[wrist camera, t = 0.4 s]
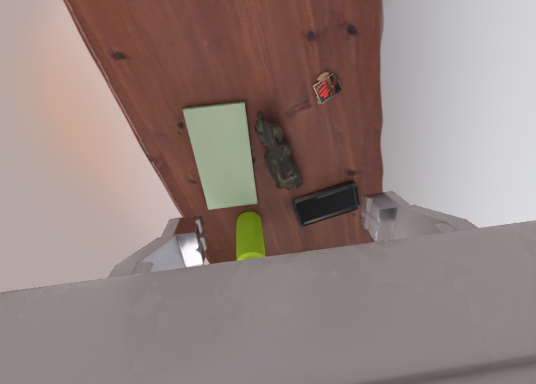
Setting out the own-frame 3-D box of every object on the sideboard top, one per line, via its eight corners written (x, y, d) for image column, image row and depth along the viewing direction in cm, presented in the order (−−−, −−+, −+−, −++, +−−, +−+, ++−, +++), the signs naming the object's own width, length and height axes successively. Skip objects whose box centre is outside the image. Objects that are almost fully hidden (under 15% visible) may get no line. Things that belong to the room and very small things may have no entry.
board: (183, 107, 46) (182, 109, 45) (244, 101, 46) (244, 102, 45) (208, 206, 58) (208, 209, 57) (257, 200, 58) (257, 203, 57)
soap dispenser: (228, 224, 61) (225, 298, 44) (248, 207, 59) (252, 277, 42) (246, 236, 64) (249, 310, 47) (266, 220, 62) (276, 291, 45)
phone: (360, 208, 61) (300, 227, 62) (358, 205, 62) (299, 224, 63) (356, 181, 57) (292, 202, 58) (354, 179, 58) (291, 199, 59)
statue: (300, 172, 58) (266, 96, 45) (310, 186, 54) (276, 106, 41) (276, 186, 59) (235, 114, 45) (285, 201, 55) (243, 127, 41)
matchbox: (343, 86, 47) (344, 87, 46) (322, 107, 48) (322, 108, 48) (328, 67, 45) (329, 67, 44) (306, 89, 46) (306, 90, 46)
